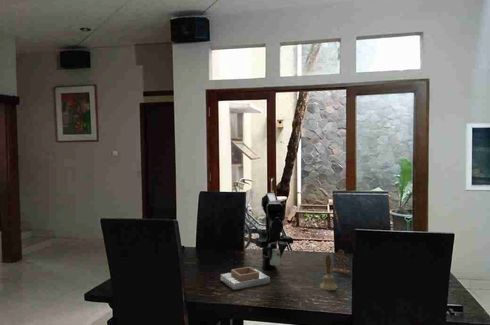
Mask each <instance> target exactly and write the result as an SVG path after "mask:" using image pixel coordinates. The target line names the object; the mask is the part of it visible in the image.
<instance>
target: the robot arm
mask: <svg viewBox="0 0 490 325" xmlns="http://www.w3.org/2000/svg"><path fill="white" fill-rule="evenodd" d="M260 201H261V208H262V210H263V212H264V214H265V230H263V231H260V233H259V236H260V239H256V241H255V246H256V247H259V248H260V249H261V259H262V267H261V268H262V269H263V270H265V271H272V270H277V269H278V267H277V266H274V265H270V260H271V258H272V249H279V250H280V259H281V258H282V256H283V255H284V251H285V250H286V248H287V247H288V246H289V245H290V244H294V238H293V237H291V236H288V235H285V236H282V235H281V233H283V231H282V230H283V229H284V224H283V222H282V220H281V218H284V217H285V210H284V209H285V208H284V206H283V204H282V202H280V201H278V197H277V196H276V193H274V192H267V193H265V195H264V196H262V198H261V200H260ZM276 244H277V245H276ZM277 246H278V247H277Z"/></svg>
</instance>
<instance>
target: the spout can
mask: <svg viewBox="0 0 490 325" xmlns="http://www.w3.org/2000/svg"><path fill="white" fill-rule="evenodd" d="M270 265H274V266H276V267H277V266H279V265H281V258H280V250H279V249H278V248H277V249H272V258H271V260H270Z"/></svg>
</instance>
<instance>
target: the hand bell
mask: <svg viewBox="0 0 490 325" xmlns="http://www.w3.org/2000/svg"><path fill="white" fill-rule="evenodd" d="M331 266H332V259H331V256H330V254H327V255H326V257H325V267H326V275H324V276H323V281H322V283H321V284H320V286H319V288H320V289H322V290H324V291H336V290H338V285H337V284H336V282H335V279H334V276H333V275H331Z"/></svg>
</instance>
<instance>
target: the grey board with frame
mask: <svg viewBox="0 0 490 325" xmlns="http://www.w3.org/2000/svg"><path fill="white" fill-rule="evenodd" d="M220 281H221V282H223V283H224V284H225V285H226V286H228V287H229V288H231V289H232V290H233V291H234V290H240V289H247V288H250V287H251V288H252V287H256V286H262V285H267V284H270V283H271V277H270V276H268V275H267V274H265V273H263V272H262V271H260V270H258V269H257V268H253V267H251V266H245V267H239V268H233V269H231V270H230V272H227V273H226V272H225V273H221V274H220Z"/></svg>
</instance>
